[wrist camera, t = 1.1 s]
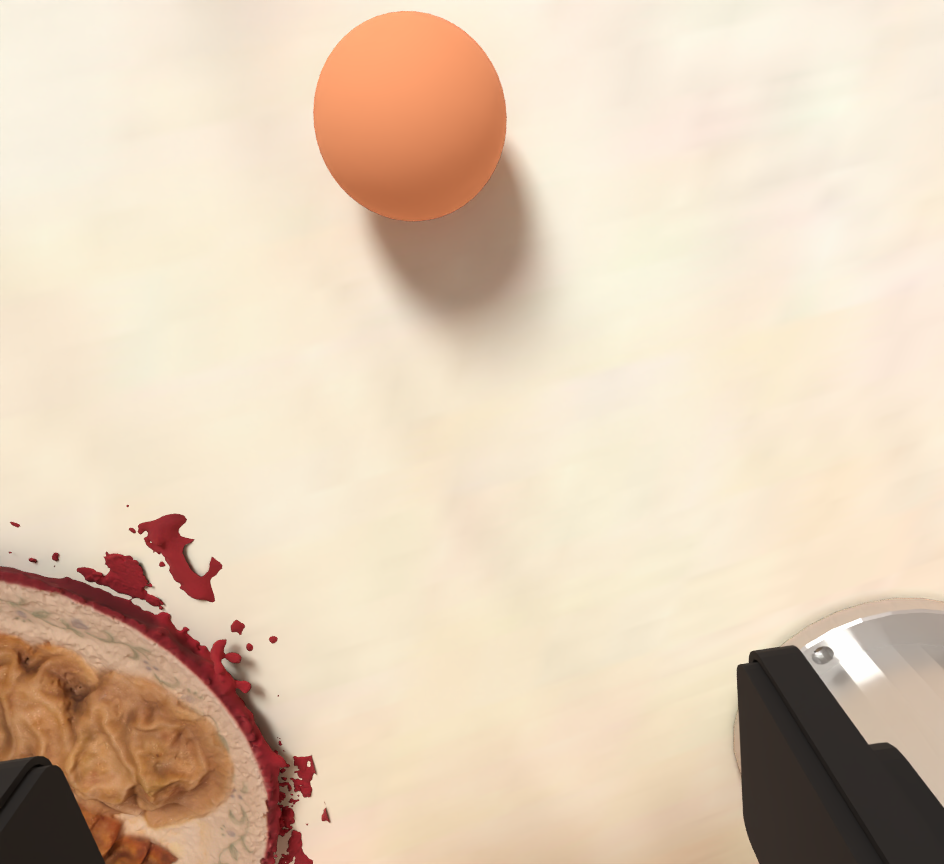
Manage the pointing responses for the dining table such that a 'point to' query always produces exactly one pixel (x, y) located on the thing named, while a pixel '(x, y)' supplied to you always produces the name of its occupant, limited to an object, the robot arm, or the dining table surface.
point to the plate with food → (141, 715)
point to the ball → (410, 116)
